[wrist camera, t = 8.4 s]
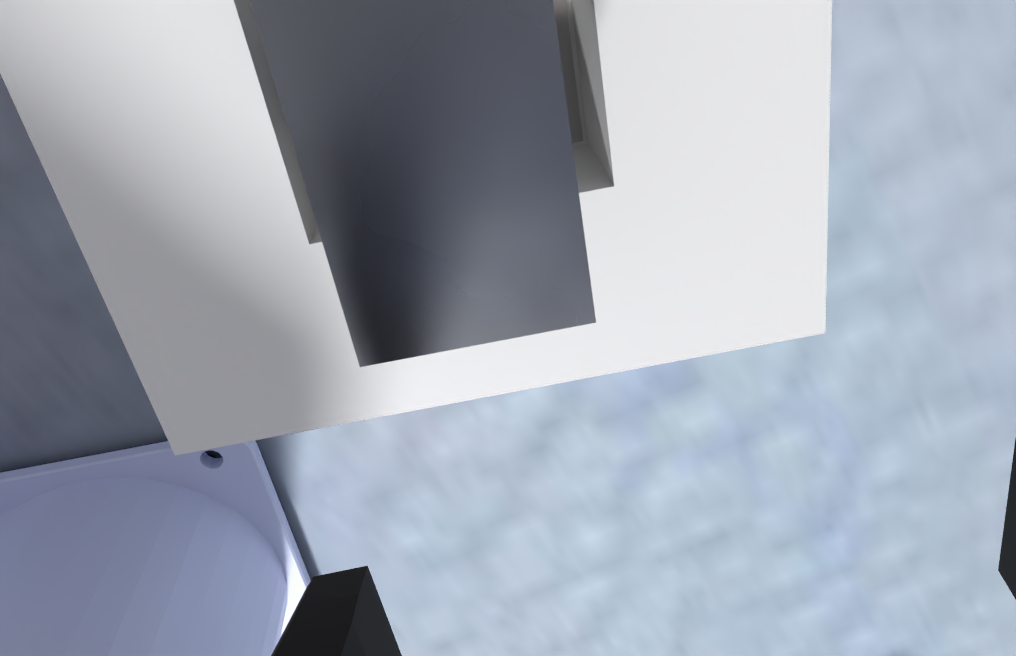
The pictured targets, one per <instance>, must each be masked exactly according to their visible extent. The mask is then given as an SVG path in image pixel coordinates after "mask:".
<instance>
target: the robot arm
mask: <svg viewBox="0 0 1016 656" xmlns="http://www.w3.org/2000/svg"><path fill="white" fill-rule="evenodd" d="M207 450H212V451H216V452H218V453H220V454H221V456H222V457H221V458H212V457H210V456H208V455H207V454H206V453H205V451H207ZM207 450H202V451H197V452H191V453H186V454H181V455H174V452H173V450H172V448H171V446H170V444H169V442H168V441H166V442H161V443H155V444H150V445H145V446H139V447H134V448H129V449H124V450H118V451H113V452H108V453H102V454H97V455H92V456H86V457H81V458H76V459H71V460H65V461H60V462H55V463H49V464H44V465H39V466H33V467H28V468H23V469H18V470H12V471H7V472H2V473H0V656H402V655H401V653H400V650H399V647H398V645H397V642H396V639H395V637H394V634H393V632H392V629H391V626H390V624H389V621H388V618H387V616H386V613H385V611H384V608H383V605H382V603H381V600H380V597H379V595H378V592H377V590H376V587H375V584H374V582H373V579H372V576H371V574H370V571H369V569H368V566H364V567H359V568H354V569H349V570H345V571H340V572H335V573H330V574H325V575H320V576H315V577H313V579H312V580H310V577H309V575H308V572H307V570H306V567H305V565H304V562H303V560H302V557H301V555H300V552H299V549H298V547H297V544H296V542H295V539H294V537H293V534H292V532H291V529H290V527H289V524H288V522H287V519H286V516H285V514H284V511H283V509H282V506H281V504H280V501H279V499H278V496H277V494H276V491H275V488H274V486H273V483H272V481H271V478H270V476H269V473H268V471H267V468H266V466H265V463H264V460H263V458H262V455H261V453H260V450H259V448H258V445H257V443H256V441H250V442H244V443H239V444H234V445H228V446H223V447H218V448H213V449H207ZM998 571H999V572H1000V574H1001V576H1002V577H1003V579H1004V581H1005V582H1006V584H1007V586H1008V587H1009V589H1010V591H1011V592H1012V594H1013V596H1014V597H1015V599H1016V440H1015V448H1014V455H1013V463H1012V470H1011V478H1010V485H1009V493H1008V500H1007V508H1006V516H1005V523H1004V531H1003V538H1002V546H1001V553H1000V561H999V568H998Z"/></svg>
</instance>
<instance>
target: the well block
mask: <svg viewBox="0 0 1016 656" xmlns="http://www.w3.org/2000/svg"><path fill="white" fill-rule="evenodd" d="M553 4H554V12H555V19H556V26H557V34H558V41H559V49H560V56H561V64H562V71H563V79H564V86H565V94H566V101H567V109H568V116H569V124H570V131H571V138H572V146H573V153H574V161H575V168H576V176H577V183H578V191H579V198H580V206H581V213H582V221H583V228H584V236H585V243H586V250H587V258H588V265H589V273H590V280H591V288H592V295H593V303H594V310H595V318H596V323H591V324H586V325H581V326H576V327H570V328H565V329H560V330H554V331H549V332H544V333H539V334H533V335H528V336H523V337H517V338H512V339H507V340H502V341H496V342H491V343H486V344H480V345H475V346H470V347H464V348H459V349H454V350H449V351H443V352H438V353H433V354H427V355H422V356H417V357H412V358H406V359H401V360H396V361H390V362H385V363H380V364H375V365H369V366H364V367H360V366H359V363H358V359H357V356H356V353H355V349H354V346H353V343H352V339H351V336H350V333H349V329H348V326H347V323H346V319H345V316H344V313H343V310H342V306H341V303H340V300H339V296H338V293H337V290H336V286H335V283H334V280H333V276H332V273H331V270H330V266H329V263H328V260H327V256H326V253H325V250H324V246H323V243H322V240H321V237H320V233H319V230H318V227H317V223H316V220H315V217H314V213H313V210H312V207H311V203H310V200H309V197H308V193H307V190H306V187H305V183H304V180H303V177H302V174H301V170H300V167H299V164H298V160H297V157H296V154H295V150H294V147H293V144H292V140H291V137H290V134H289V130H288V127H287V124H286V120H285V117H284V114H283V110H282V107H281V104H280V101H279V97H278V94H277V91H276V87H275V84H274V81H273V77H272V74H271V71H270V67H269V64H268V61H267V57H266V54H265V51H264V47H263V44H262V41H261V37H260V34H259V31H258V28H257V24H256V21H255V18H254V14H253V11H252V8H251V4H250V1H249V0H0V74H1V76H2V78H3V81H4V83H5V85H6V87H7V89H8V92H9V94H10V96H11V98H12V100H13V102H14V105H15V107H16V109H17V111H18V113H19V116H20V118H21V120H22V122H23V124H24V127H25V129H26V131H27V133H28V135H29V137H30V140H31V142H32V144H33V146H34V148H35V151H36V153H37V155H38V157H39V159H40V162H41V164H42V166H43V168H44V170H45V172H46V175H47V177H48V179H49V181H50V183H51V186H52V188H53V190H54V192H55V194H56V197H57V199H58V201H59V203H60V205H61V207H62V210H63V212H64V214H65V216H66V218H67V221H68V223H69V225H70V227H71V229H72V232H73V234H74V236H75V238H76V240H77V242H78V245H79V247H80V249H81V251H82V253H83V256H84V258H85V260H86V262H87V264H88V267H89V269H90V271H91V273H92V275H93V277H94V280H95V282H96V284H97V286H98V288H99V291H100V293H101V295H102V297H103V299H104V302H105V304H106V306H107V308H108V310H109V312H110V315H111V317H112V319H113V321H114V323H115V326H116V328H117V330H118V332H119V334H120V337H121V339H122V341H123V343H124V345H125V347H126V350H127V352H128V354H129V356H130V358H131V361H132V363H133V365H134V367H135V369H136V372H137V374H138V376H139V378H140V380H141V382H142V385H143V387H144V389H145V391H146V393H147V396H148V398H149V400H150V402H151V404H152V407H153V409H154V411H155V413H156V415H157V417H158V420H159V422H160V424H161V426H162V428H163V431H164V433H165V435H166V437H167V439H168V442H169V444H170V446H171V448H172V450H173V452H174V455H181V454H186V453H191V452H197V451H202V450H207V449H213V448H218V447H223V446H228V445H234V444H239V443H244V442H250V441H255V440H260V439H266V438H271V437H276V436H282V435H287V434H292V433H297V432H303V431H308V430H313V429H319V428H324V427H329V426H335V425H340V424H345V423H351V422H356V421H361V420H366V419H372V418H377V417H382V416H388V415H393V414H398V413H404V412H409V411H414V410H420V409H425V408H430V407H435V406H441V405H446V404H451V403H457V402H462V401H467V400H473V399H478V398H483V397H489V396H494V395H499V394H504V393H510V392H515V391H520V390H526V389H531V388H536V387H542V386H547V385H552V384H558V383H563V382H568V381H573V380H579V379H584V378H589V377H595V376H600V375H605V374H611V373H616V372H621V371H627V370H632V369H637V368H642V367H648V366H653V365H658V364H664V363H669V362H674V361H680V360H685V359H690V358H696V357H701V356H706V355H711V354H717V353H722V352H727V351H733V350H738V349H743V348H749V347H754V346H759V345H765V344H770V343H775V342H780V341H786V340H791V339H796V338H802V337H807V336H812V335H818V334H823V333H825V324H826V274H827V224H828V174H829V124H830V74H831V24H832V0H553Z"/></svg>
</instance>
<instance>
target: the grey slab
mask: <svg viewBox="0 0 1016 656" xmlns="http://www.w3.org/2000/svg"><path fill="white" fill-rule="evenodd" d="M249 1H250V4H251V8H252V11H253V14H254V18H255V21H256V24H257V28H258V31H259V34H260V37H261V41H262V44H263V47H264V51H265V54H266V57H267V61H268V64H269V67H270V71H271V74H272V77H273V81H274V84H275V87H276V91H277V94H278V97H279V101H280V104H281V107H282V110H283V114H284V117H285V120H286V124H287V127H288V130H289V134H290V137H291V140H292V144H293V147H294V150H295V154H296V157H297V160H298V164H299V167H300V170H301V174H302V177H303V180H304V183H305V187H306V190H307V193H308V197H309V200H310V203H311V207H312V210H313V213H314V217H315V220H316V223H317V227H318V230H319V233H320V237H321V240H322V243H323V246H324V250H325V253H326V256H327V260H328V263H329V266H330V270H331V273H332V276H333V280H334V283H335V286H336V290H337V293H338V296H339V300H340V303H341V306H342V310H343V313H344V316H345V319H346V323H347V326H348V329H349V333H350V336H351V339H352V343H353V346H354V349H355V353H356V356H357V359H358V363H359V366H360V367H364V366H369V365H375V364H380V363H385V362H390V361H396V360H401V359H406V358H412V357H417V356H422V355H427V354H433V353H438V352H443V351H449V350H454V349H459V348H464V347H470V346H475V345H480V344H486V343H491V342H496V341H502V340H507V339H512V338H517V337H523V336H528V335H533V334H539V333H544V332H549V331H554V330H560V329H565V328H570V327H576V326H581V325H586V324H591V323H596V318H595V310H594V303H593V295H592V288H591V280H590V273H589V265H588V258H587V250H586V243H585V236H584V228H583V221H582V213H581V206H580V198H579V191H578V183H577V176H576V168H575V161H574V153H573V146H572V138H571V131H570V124H569V116H568V109H567V101H566V94H565V86H564V79H563V71H562V64H561V56H560V49H559V41H558V34H557V26H556V19H555V12H554V4H553V0H249Z"/></svg>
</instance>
